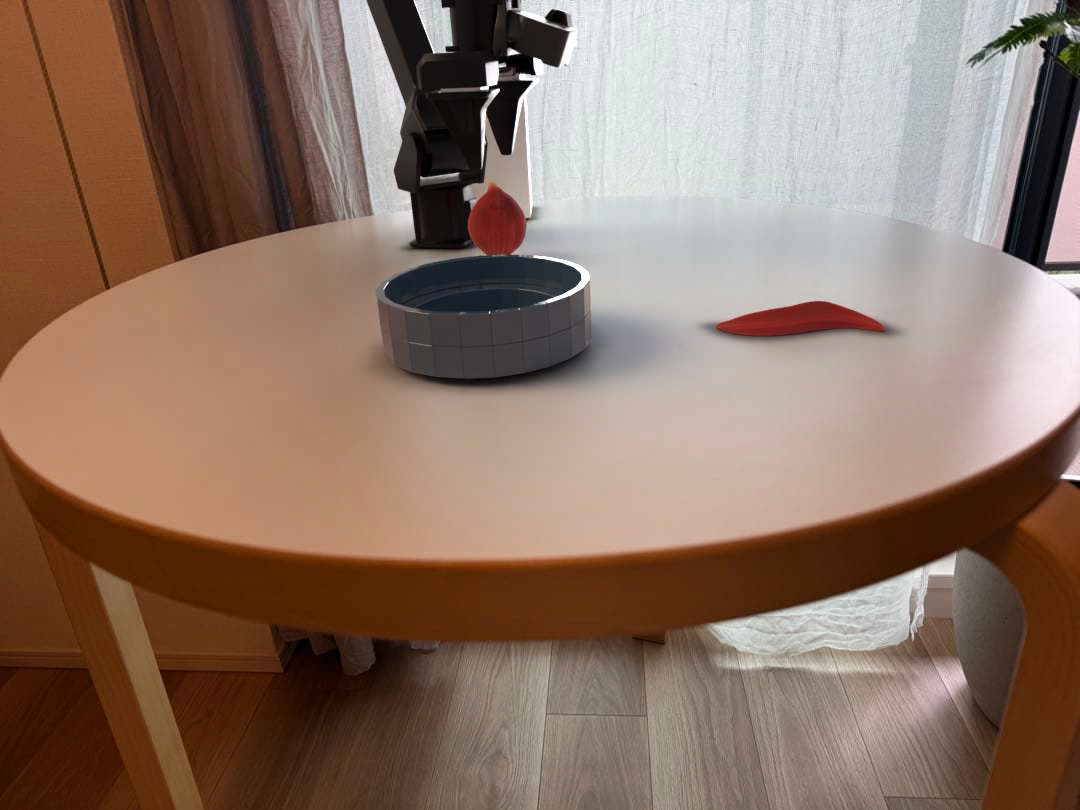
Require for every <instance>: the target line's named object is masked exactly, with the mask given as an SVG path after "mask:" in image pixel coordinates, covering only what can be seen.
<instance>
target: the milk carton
mask: <svg viewBox="0 0 1080 810" xmlns="http://www.w3.org/2000/svg"><path fill="white" fill-rule="evenodd" d="M528 118H529V117H528V101H527V94H526V95H525V96H524V98H523V101H522V106H521V110H520V115H519V120H518V126H517V131H516V136H515V142H514V147H513V153H512V154H511V155H501V153H500V150H499V148H498V145H497V143H496V140H495V138H494V135H493V132H492V129H491V126H490V123H489V121H488V118H487V115H486V118H485V135H486V138H487V142H488V147H487V158H486V168H485V177H484V183H481V184H478V183H476V184H472V187H473V197H476V198H477V199H478V200H479V199H480V198H481V197H482V196H483V195H484V194H485V193H486V192H487V190H488V186H489V181H494V182H495V183H496V184H497V186H498V187H499V188H501V189H502V190H503V191H504V192H505V193H507V194H509V195H510V196H512V197H513V199H514V200H515V201H516V202H517V204H518V205H519V206H520V208H521V209H522V210H523V213H524V215H525V218H526V219H530V218H532V211H533V194H532V193H533V192H532V191H533V190H532V176H531V175H532V174H531V156H530V155H531V154H530V138H529V119H528Z"/></svg>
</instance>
